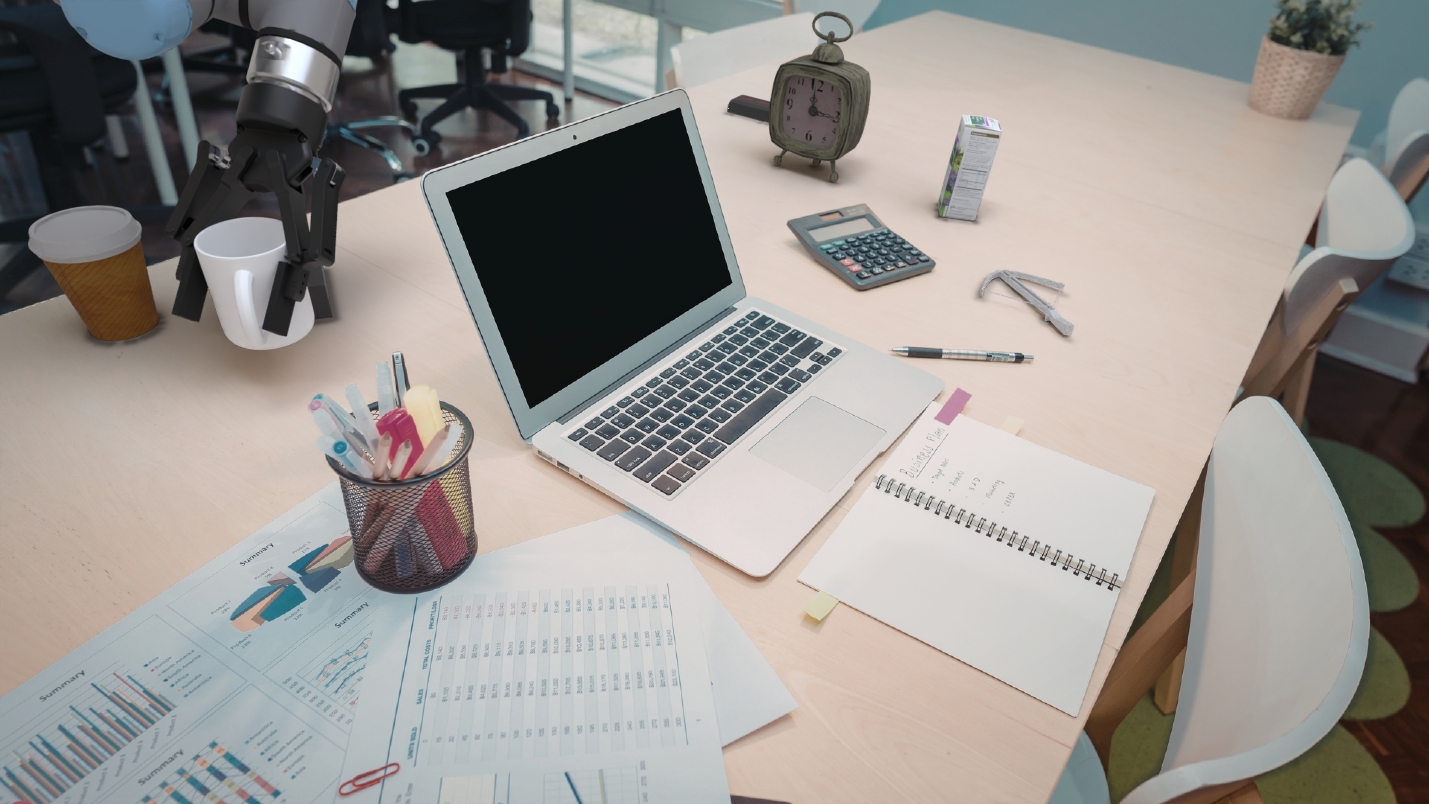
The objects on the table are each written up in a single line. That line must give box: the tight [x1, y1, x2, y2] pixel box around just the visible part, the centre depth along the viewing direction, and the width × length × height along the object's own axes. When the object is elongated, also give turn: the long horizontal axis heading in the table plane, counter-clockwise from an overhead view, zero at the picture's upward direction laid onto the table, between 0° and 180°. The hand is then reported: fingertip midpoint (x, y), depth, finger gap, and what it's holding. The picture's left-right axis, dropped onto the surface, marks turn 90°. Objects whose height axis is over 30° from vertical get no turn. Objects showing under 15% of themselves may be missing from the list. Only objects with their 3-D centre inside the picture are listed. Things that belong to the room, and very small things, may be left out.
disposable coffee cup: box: [27, 204, 160, 342], centre depth 85 cm, size 10×10×12 cm
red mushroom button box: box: [307, 266, 334, 321], centre depth 93 cm, size 12×10×6 cm
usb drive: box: [726, 94, 770, 123], centre depth 159 cm, size 5×12×3 cm, turn 59°
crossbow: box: [979, 268, 1075, 336], centre depth 107 cm, size 16×13×2 cm
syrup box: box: [937, 114, 1003, 222], centre depth 125 cm, size 6×6×14 cm
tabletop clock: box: [768, 10, 872, 183], centre depth 132 cm, size 14×9×25 cm, turn 58°
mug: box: [194, 216, 315, 351], centre depth 77 cm, size 12×8×10 cm
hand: (229, 325), depth 76 cm, fingers closed on mug, 8 cm apart
